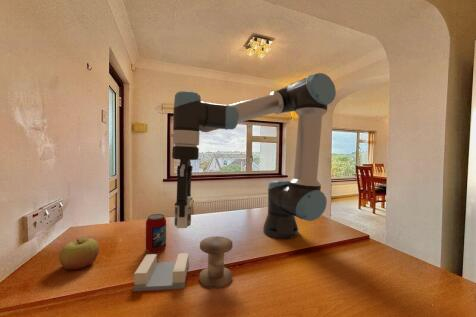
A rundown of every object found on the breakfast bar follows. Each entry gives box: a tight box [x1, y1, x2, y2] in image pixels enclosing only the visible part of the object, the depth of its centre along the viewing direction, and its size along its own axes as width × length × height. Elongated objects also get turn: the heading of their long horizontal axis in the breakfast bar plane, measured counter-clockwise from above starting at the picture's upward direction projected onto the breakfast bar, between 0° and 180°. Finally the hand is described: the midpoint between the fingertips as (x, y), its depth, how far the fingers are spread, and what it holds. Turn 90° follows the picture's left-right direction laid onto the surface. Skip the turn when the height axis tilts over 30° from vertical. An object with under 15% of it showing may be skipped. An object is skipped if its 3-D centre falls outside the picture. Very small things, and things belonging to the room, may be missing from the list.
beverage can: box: [145, 213, 167, 254], centre depth 77 cm, size 7×7×12 cm
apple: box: [58, 237, 100, 271], centre depth 65 cm, size 10×10×8 cm
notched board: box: [132, 252, 190, 292], centre depth 61 cm, size 12×12×4 cm
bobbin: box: [199, 236, 233, 289], centre depth 60 cm, size 9×9×10 cm
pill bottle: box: [174, 196, 193, 228], centre depth 64 cm, size 5×5×8 cm
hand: (183, 224), depth 64 cm, fingers closed on pill bottle, 5 cm apart
